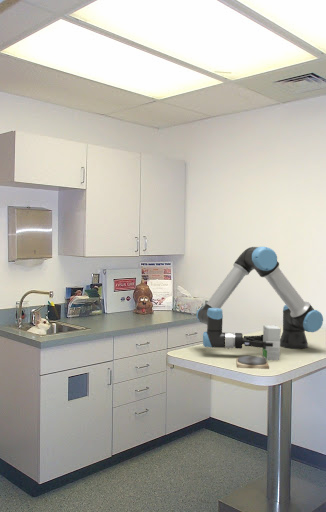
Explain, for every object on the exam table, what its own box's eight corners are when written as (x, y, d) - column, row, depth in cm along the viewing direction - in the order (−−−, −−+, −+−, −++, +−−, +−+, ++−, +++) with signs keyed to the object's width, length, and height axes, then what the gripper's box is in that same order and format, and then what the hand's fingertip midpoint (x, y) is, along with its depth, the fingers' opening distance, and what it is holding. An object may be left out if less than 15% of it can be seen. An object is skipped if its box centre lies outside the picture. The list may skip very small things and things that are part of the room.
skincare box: (262, 356, 241) (262, 325, 240) (275, 356, 241) (275, 325, 241) (267, 360, 232) (267, 327, 232) (280, 360, 233) (281, 327, 233)
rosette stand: (266, 361, 229) (266, 356, 229) (268, 368, 215) (269, 363, 215) (236, 360, 231) (236, 355, 231) (237, 367, 217) (237, 362, 217)
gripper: (233, 343, 251) (275, 344, 249) (234, 353, 227) (281, 355, 224) (234, 328, 251) (275, 330, 249) (234, 337, 227) (281, 339, 224)
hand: (278, 342), depth 236 cm, fingers open, 13 cm apart
